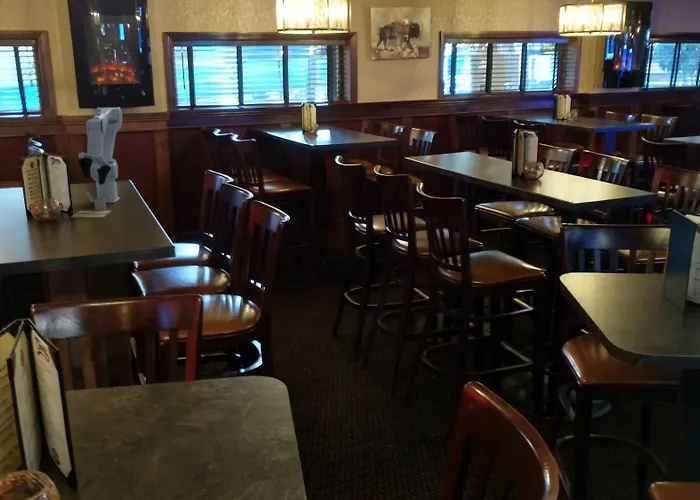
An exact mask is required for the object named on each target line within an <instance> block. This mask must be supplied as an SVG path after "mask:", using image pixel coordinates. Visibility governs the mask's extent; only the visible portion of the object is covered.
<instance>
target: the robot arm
mask: <svg viewBox="0 0 700 500" xmlns="http://www.w3.org/2000/svg"><path fill="white" fill-rule="evenodd" d="M122 123H123V111H122V108H121V107H119V106H117V107H97V108H96V110H95V115H94V116H93V117H92V119H88V120H87V121H86V122H85V124H86V125H85V129H86V137H87V147H86V148H87V150H86V151H87V152H83V151H82V152H78V162H77V163H78V165H79V166H80V168H81V171H82V175H83V179H85V180H86V179H89V178H90V177H91V178H92V179H93V180H94V182H95V183H96V184H95V186H96V193H97V197H103V199H106V204H110V203H111V204H113V203H116V202H118V201H119V200H121V197H119V194H118V185H117V182H116V181H115V180H116V179H118V177H119V166H118V165H119V164H118V162H117V160H116V159H115V158H113V155H114V148H115V142H116V141H115V140H116V137H117V134H118V133H117V132H118V131H119V130H122V129H121V128H122V125H123V124H122Z"/></svg>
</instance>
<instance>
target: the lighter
mask: <svg viewBox="0 0 700 500" xmlns="http://www.w3.org/2000/svg"><path fill="white" fill-rule="evenodd" d="M84 194H85V195H86V197H87V198H88V200H89V202H90V203H92V202H93V204H94V211H105V210H108V208H107V203H106V199H103V197H98V196H97V197H96V199H95V198H94V197H93V196H92V194H91V193H90V191H89V190H87V191H85V192H84Z"/></svg>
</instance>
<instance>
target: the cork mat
mask: <svg viewBox="0 0 700 500" xmlns="http://www.w3.org/2000/svg"><path fill="white" fill-rule="evenodd" d="M112 212H113V211H112V210H111V209H109V210H108V209H107V210H105V211H95V210H79V211H77V212H76V213H75V214H73V215H72V216H70V219H94V218H95V219H97V218H98V219H99V218H100V219H102V218H105V217H107V215H109V214H110V213H112Z"/></svg>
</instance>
